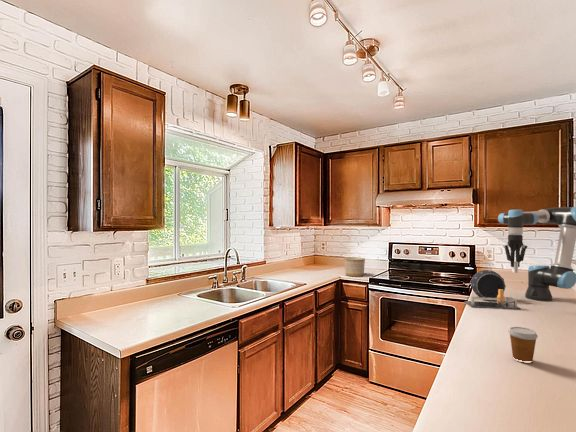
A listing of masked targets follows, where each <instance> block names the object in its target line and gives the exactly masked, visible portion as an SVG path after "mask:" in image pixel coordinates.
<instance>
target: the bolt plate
mask: <svg viewBox="0 0 576 432" xmlns="http://www.w3.org/2000/svg"><path fill="white" fill-rule="evenodd" d="M464 304H466V305H468V306H469V307H470V308H472V309H474V308H477V309H499V310H518V311H519V310H521V307H520V306H518V305H517V307H514V303H513V302H508V305H506V302H503V301H499V304H497V301H476V300H474V305H471V300H469V301H468V300H465V301H464Z"/></svg>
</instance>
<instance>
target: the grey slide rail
mask: <svg viewBox="0 0 576 432" xmlns="http://www.w3.org/2000/svg"><path fill="white" fill-rule="evenodd" d="M475 300H484V301H485V300H486V301H487V300H488V301H497V300H499V298H491V297H479V296H471V300H470V301H471V305H474V301H475ZM505 303H506V305H508V303H513V304H514V307H517V306H518V298H516V297H515V298H514V297H512V296H505Z"/></svg>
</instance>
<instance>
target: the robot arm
mask: <svg viewBox="0 0 576 432" xmlns="http://www.w3.org/2000/svg"><path fill="white" fill-rule="evenodd" d="M497 221H498V224H501V225H507V234H508V235H507V243H506V244H504V245H502V246H503V248H504V251H505V255H506V260H507V261H509V262H510V267H511V272H512V273H514V274H515V273H519V268H520V265H521V264H520V263H521V262H523V261H524V258H525V254H526V250H527V248H528V245H525V244H524V243H523V242H524V241H523V237H524V235H523V234H524V231H523V229H524V228H523V227H524V226H528V225H529V226H533V225H536V224H537V223H539V224H552V225H553V224H554V225H557V226H558V227H559V229H560V230H559V236H558V242H557V247H556V252H555V258H554V262H553V263H552V264H551V265H545V264H544V265H530V266H528V271H527V273H528V275H527V276H528V277H527V280H528V282H527V283H528V287H527V288H526V290H525V293H524V297H525V298H526V299H529V300H533V301H539V302H552V301H553V296H552V292H551V290H550V287H554V288H559V289H571V288H573V287H574V286H575V285H576V272H574V268H573V267H572V262H573V258H574V257H573V256H574V253H575V246H576V206H571V207H570V206H566V207H565V206H564V207H563V206H562V207H559V206H558V207H556V206H555V207H550V208H544V209H543V208H541V209H539V210H535V211H523V209H509V210H508V212H503V213H499V215H498V216H497Z"/></svg>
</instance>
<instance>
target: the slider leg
mask: <svg viewBox="0 0 576 432" xmlns="http://www.w3.org/2000/svg"><path fill="white" fill-rule="evenodd" d="M504 292H505V291H504V290H502V289H498V295H497V298H499V300H496V302H497V304H499V302H506V300H505V298H506V296H505V295H504V294H505V293H504Z"/></svg>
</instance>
